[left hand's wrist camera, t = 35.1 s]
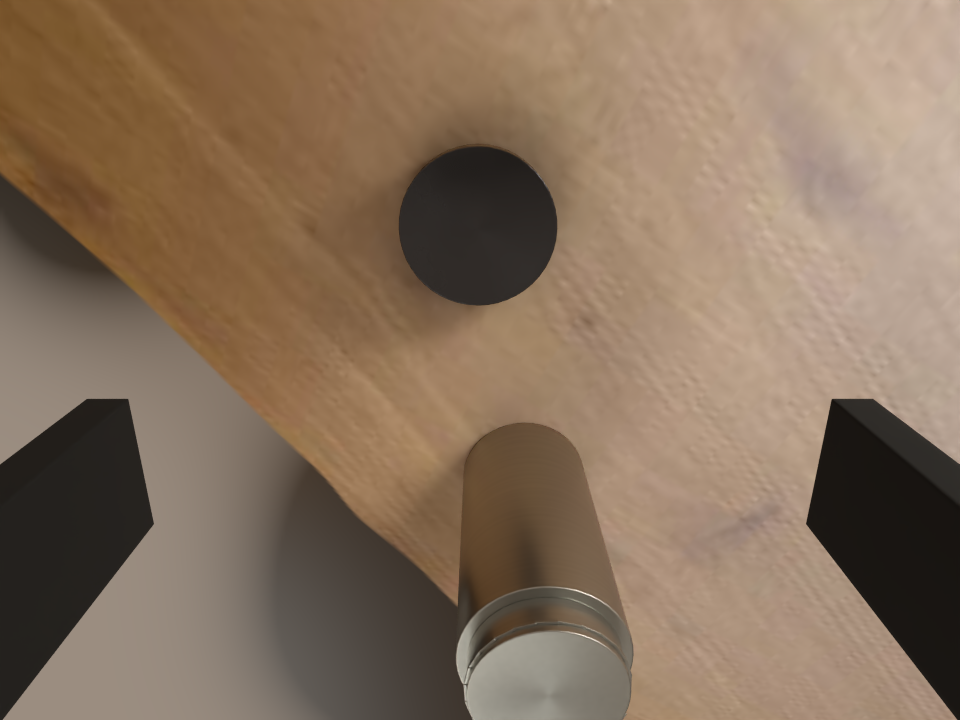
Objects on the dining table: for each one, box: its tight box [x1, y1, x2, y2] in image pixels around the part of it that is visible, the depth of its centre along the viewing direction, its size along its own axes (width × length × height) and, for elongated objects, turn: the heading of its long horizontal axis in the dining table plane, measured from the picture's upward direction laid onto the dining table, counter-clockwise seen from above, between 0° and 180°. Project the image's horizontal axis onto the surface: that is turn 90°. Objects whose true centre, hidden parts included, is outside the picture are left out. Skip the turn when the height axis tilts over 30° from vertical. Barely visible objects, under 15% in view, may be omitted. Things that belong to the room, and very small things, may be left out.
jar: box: [456, 423, 633, 720], centre depth 37 cm, size 8×8×18 cm
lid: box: [399, 144, 557, 305], centre depth 38 cm, size 9×9×2 cm
